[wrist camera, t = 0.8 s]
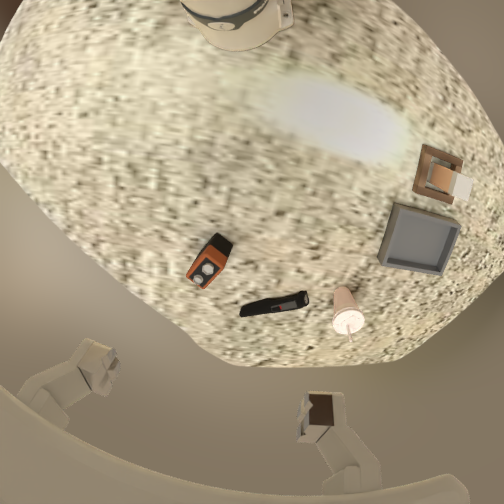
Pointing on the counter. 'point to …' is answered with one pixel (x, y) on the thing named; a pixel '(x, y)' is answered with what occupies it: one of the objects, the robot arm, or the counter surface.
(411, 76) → the counter surface
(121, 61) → the counter surface
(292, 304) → the electric trimmer
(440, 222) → the tray
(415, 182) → the frame
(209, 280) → the battery
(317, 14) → the counter surface
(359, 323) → the smoothie
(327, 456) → the robot arm
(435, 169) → the block
